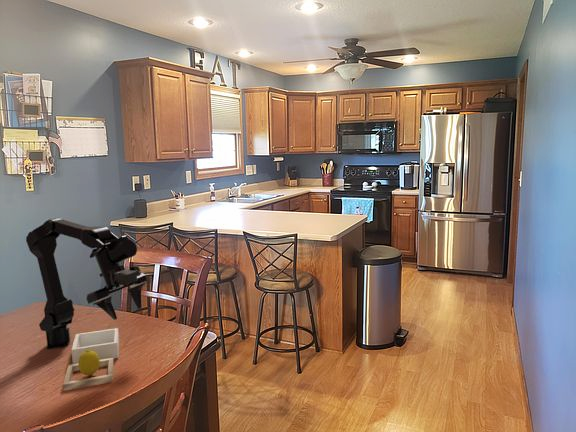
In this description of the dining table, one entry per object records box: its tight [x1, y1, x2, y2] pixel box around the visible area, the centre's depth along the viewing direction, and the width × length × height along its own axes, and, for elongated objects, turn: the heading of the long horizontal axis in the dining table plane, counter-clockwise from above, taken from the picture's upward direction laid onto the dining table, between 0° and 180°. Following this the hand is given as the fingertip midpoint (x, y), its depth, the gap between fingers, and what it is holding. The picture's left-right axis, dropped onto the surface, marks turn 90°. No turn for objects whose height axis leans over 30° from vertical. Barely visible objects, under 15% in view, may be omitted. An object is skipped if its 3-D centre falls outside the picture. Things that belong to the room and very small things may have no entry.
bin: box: [71, 327, 120, 364], centre depth 144 cm, size 13×13×5 cm
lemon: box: [78, 350, 100, 377], centre depth 129 cm, size 6×6×8 cm
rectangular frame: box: [62, 358, 115, 392], centre depth 129 cm, size 12×12×2 cm
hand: (128, 313), depth 138 cm, fingers open, 9 cm apart
